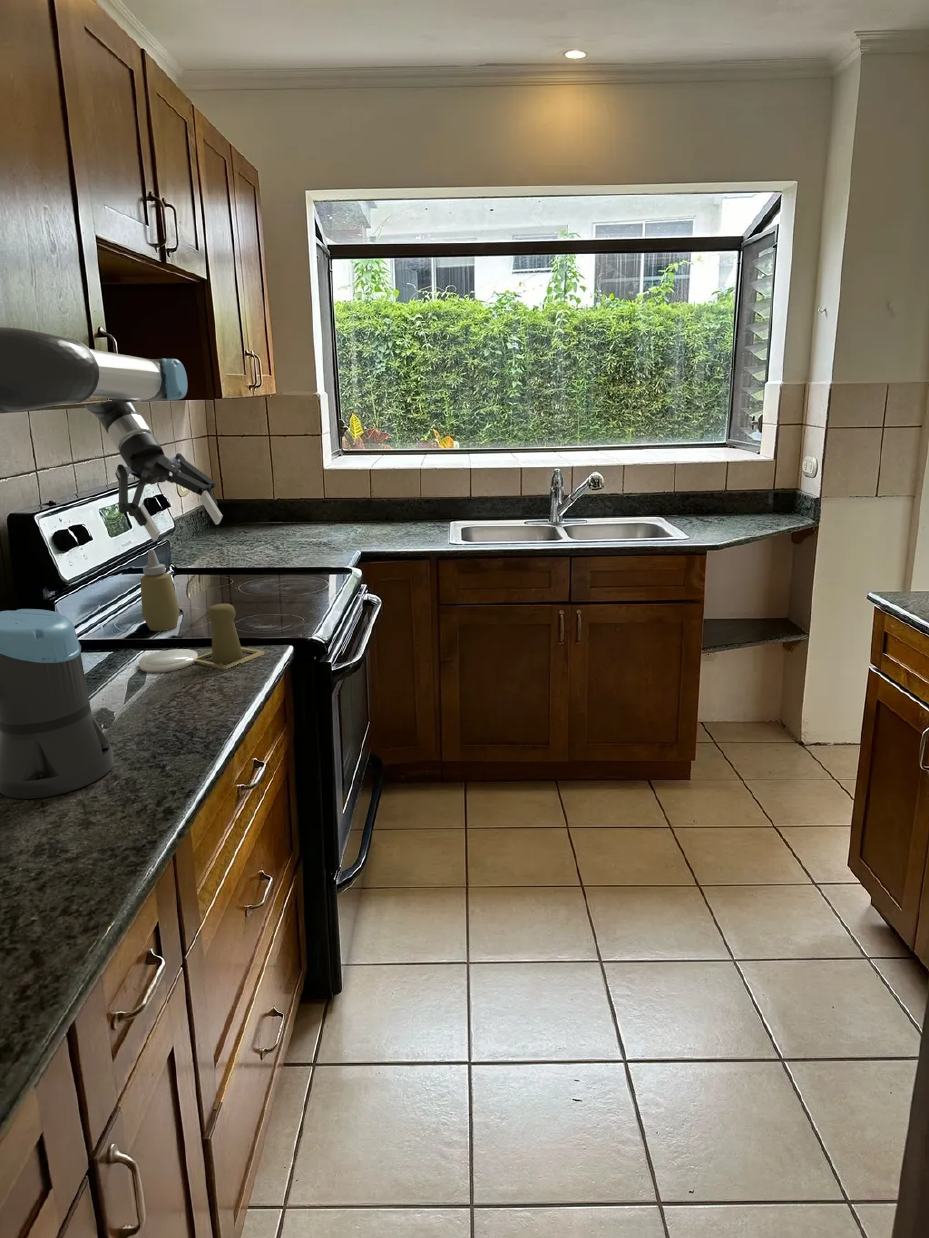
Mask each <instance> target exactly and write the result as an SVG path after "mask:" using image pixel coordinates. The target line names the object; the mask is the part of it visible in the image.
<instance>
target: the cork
mask: <svg viewBox="0 0 929 1238" xmlns="http://www.w3.org/2000/svg"><path fill="white" fill-rule="evenodd" d="M236 614H237V613H236V609H235V607H234V605H232V604H230V603H217V604H214V605H212V606H210V607H209V608H208V610H207V616H208V620H209V621H210V622H211V652H212V656H211V662H213V663H218V664H221V663H223V664H230V663H231V662H234V661H237V660H240V659H241V658H244V657H243V656H244V654H243V653H244V652H242V649H241V647H242V646H241V642H240V640H239V636H238V632H237V628H236V625H235V621H234V620H235V618H236Z"/></svg>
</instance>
